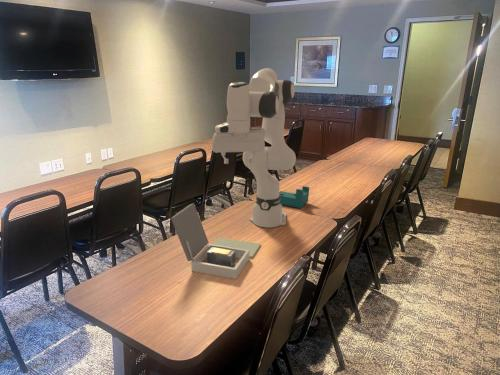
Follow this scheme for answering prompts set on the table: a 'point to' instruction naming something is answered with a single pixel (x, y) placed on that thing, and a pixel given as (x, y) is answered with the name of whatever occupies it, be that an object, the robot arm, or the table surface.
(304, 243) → the table surface
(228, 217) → the table surface
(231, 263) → the module
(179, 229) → the case lid
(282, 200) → the teal l-shaped bracket
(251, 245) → the sage mat
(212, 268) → the equipment case
